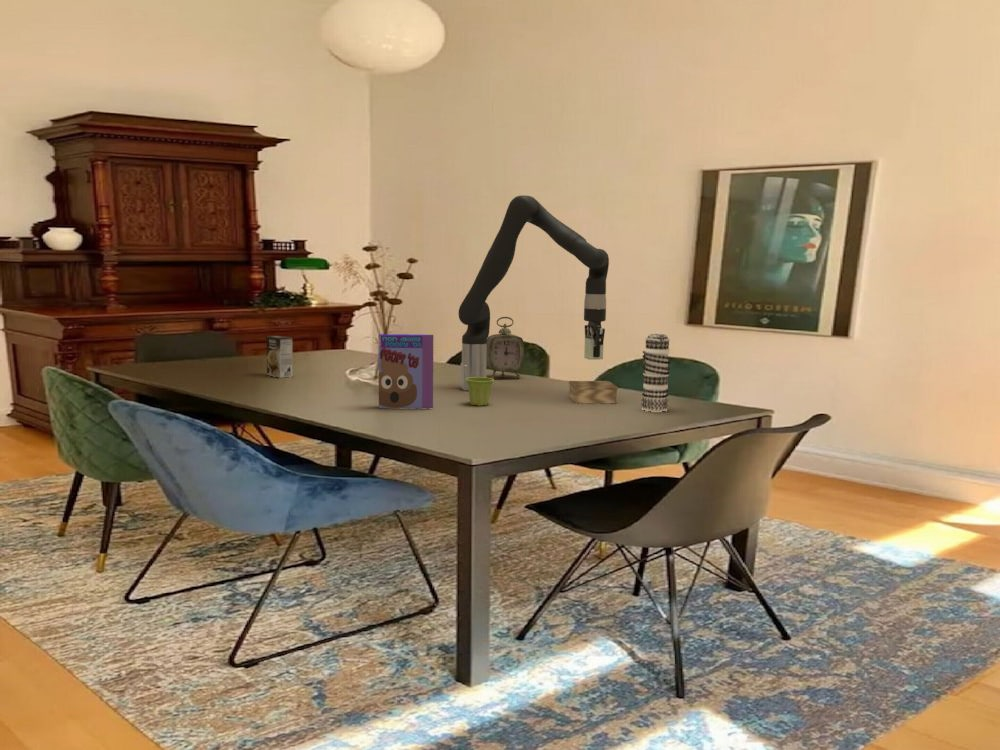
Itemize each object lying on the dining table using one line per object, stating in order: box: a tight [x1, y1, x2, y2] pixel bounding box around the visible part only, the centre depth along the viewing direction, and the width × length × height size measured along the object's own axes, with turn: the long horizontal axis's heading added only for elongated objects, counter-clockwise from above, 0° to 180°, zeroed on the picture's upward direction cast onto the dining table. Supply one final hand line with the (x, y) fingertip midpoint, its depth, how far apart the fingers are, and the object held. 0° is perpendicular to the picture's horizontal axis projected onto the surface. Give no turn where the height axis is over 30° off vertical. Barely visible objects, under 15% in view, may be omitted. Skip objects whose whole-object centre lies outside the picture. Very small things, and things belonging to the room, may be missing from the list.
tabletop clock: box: [487, 316, 526, 380], centre depth 345 cm, size 14×9×25 cm, turn 103°
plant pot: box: [466, 376, 495, 407], centre depth 287 cm, size 9×9×9 cm
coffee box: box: [265, 335, 294, 378], centre depth 340 cm, size 9×6×16 cm
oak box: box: [568, 380, 619, 404], centre depth 299 cm, size 14×14×6 cm
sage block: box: [583, 337, 604, 361], centre depth 297 cm, size 5×5×7 cm
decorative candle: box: [641, 333, 672, 413], centre depth 281 cm, size 9×9×25 cm
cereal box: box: [378, 333, 434, 410], centre depth 277 cm, size 17×5×24 cm, turn 94°
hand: (593, 355), depth 297 cm, fingers closed on sage block, 5 cm apart
